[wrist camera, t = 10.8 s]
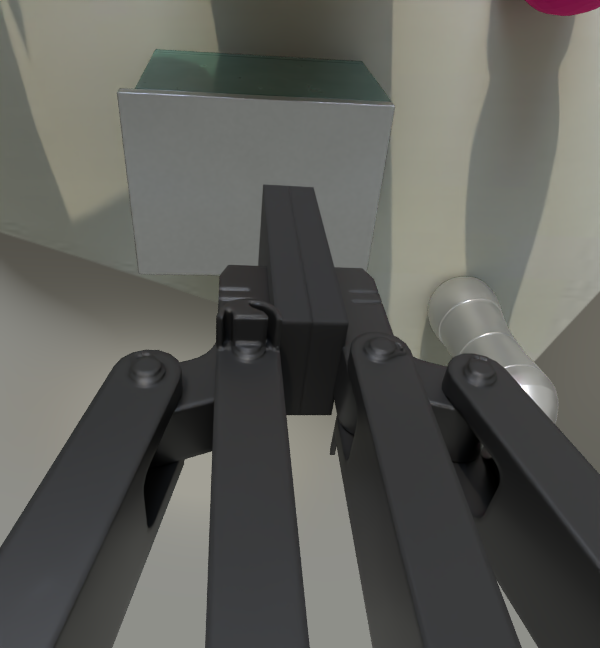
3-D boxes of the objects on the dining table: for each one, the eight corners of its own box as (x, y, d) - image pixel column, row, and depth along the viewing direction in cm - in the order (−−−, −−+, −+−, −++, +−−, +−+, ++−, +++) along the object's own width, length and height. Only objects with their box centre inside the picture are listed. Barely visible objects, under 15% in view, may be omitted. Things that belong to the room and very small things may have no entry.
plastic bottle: (419, 327, 56) (490, 498, 40) (424, 270, 52) (506, 435, 36) (483, 320, 56) (578, 488, 40) (492, 263, 52) (604, 424, 36)
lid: (140, 268, 38) (138, 274, 37) (119, 87, 31) (116, 91, 30) (364, 271, 40) (366, 277, 39) (392, 101, 32) (395, 105, 32)
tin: (167, 204, 46) (152, 267, 38) (155, 49, 39) (134, 88, 31) (343, 209, 47) (363, 271, 40) (362, 61, 40) (392, 101, 33)
